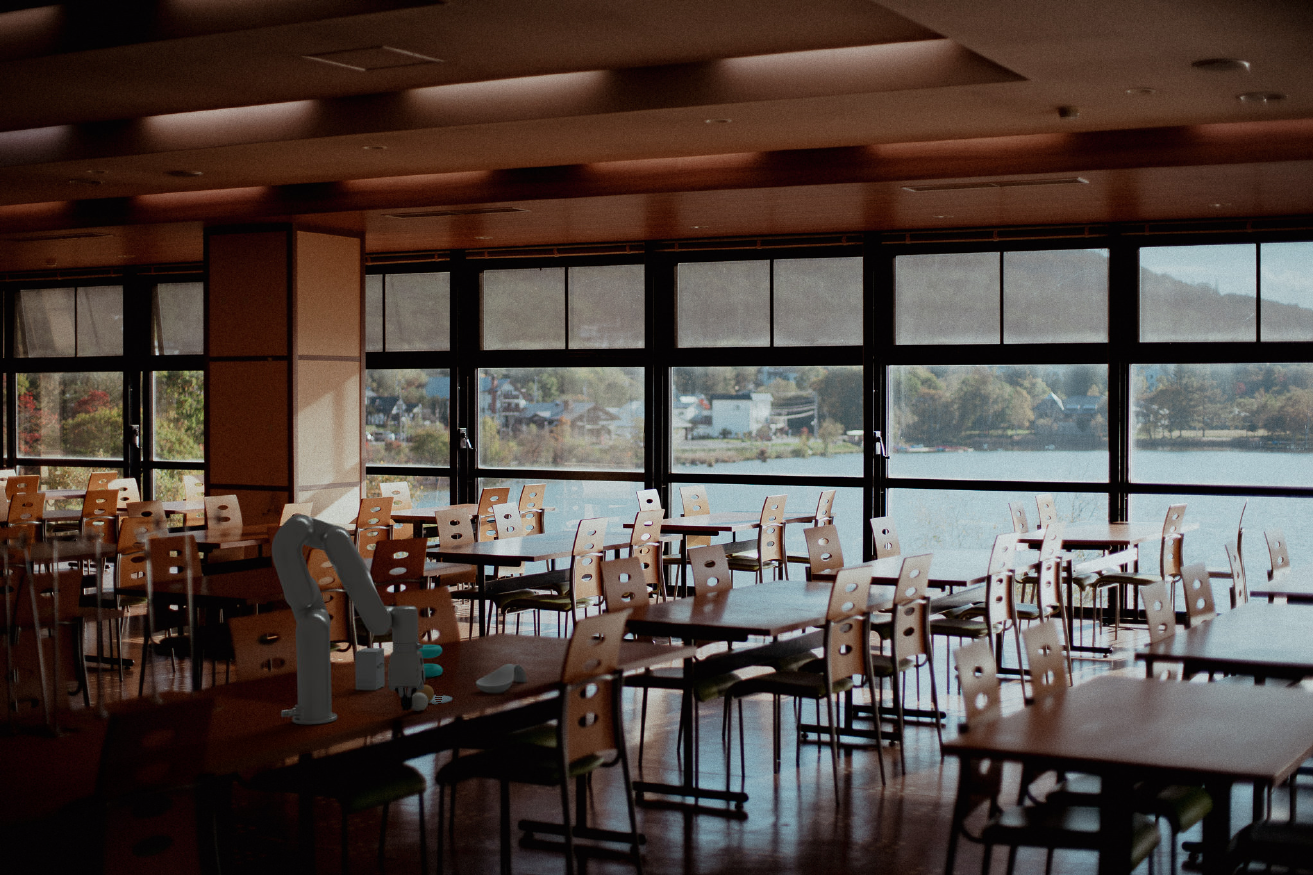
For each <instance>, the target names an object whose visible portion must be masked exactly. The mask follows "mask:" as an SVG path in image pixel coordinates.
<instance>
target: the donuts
mask: <svg viewBox="0 0 1313 875" xmlns="http://www.w3.org/2000/svg"><path fill="white" fill-rule="evenodd" d="M419 651H420V652H422V657H423V659H430V658H431V659H432V658H436V657H438V656H440V655H442V653H443V648H442V647H441V645H439V644H423V649H419ZM424 671H425V678H435V676H436V677H440V675H442V674H443V671H444V669H443V667H442V666H440V665H439V664H436V663H424Z"/></svg>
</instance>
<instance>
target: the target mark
mask: <svg viewBox="0 0 1313 875" xmlns="http://www.w3.org/2000/svg"><path fill="white" fill-rule="evenodd" d="M436 695H437V694H434V697H433V699H432V700H431V701H430V702H428V703H432V704H434V705H439V704H438V703H442V704H445V703H449V702H452V700H453V697H452V696H449V695H443V696H436ZM435 697H442V698H435ZM435 699H442V700H435ZM436 701H441V702H436Z"/></svg>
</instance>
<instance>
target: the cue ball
mask: <svg viewBox="0 0 1313 875" xmlns="http://www.w3.org/2000/svg"><path fill="white" fill-rule="evenodd" d="M428 706H429V705H428V698H427V696H426V695H425V694H423V693H420V692H418V693H416V692H415V693H414V695H412V707H411V710H413V711H415V712H421V711H420V710H422V711H424V710H425V709H426V708H427V707H428Z"/></svg>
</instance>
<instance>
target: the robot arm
mask: <svg viewBox="0 0 1313 875" xmlns="http://www.w3.org/2000/svg"><path fill="white" fill-rule="evenodd" d="M351 536H352V535H351V534H350V532H349V530H347V528H345V527H343V526H340V525H336V524H333V523H330V522H327V521H324V520H321V519H318V518H315V517H312V516H308V515H305V514H301V513H299V514H295V515H292V516H290V517H289V518H288V519H287V520H285V522H284V523H283V524H282V525H281V526H280V527H279V529H278V530H277V532H276V533H275V535H274V537H273V540H272V544H271V555H272V560H273V564H274V566H275V571H276V573H277V576H278V579H279V582H280V585H281V587H282V588H281V589H282V590H283V594H284V598H285V601H286V603H287V604H288V605H289V606H290V608H291V611H292V614H293V617H294V619H295V623H296V627H295V646H296V671H297V672H296V677H297V678H296V679H297V680H296V681H297V682H296V683H297V704H295V705H294V707H293V708H290V709H283V710H281V712H280V716H281V717H282V718H285V717H286V718H287V717H288V718H292V722H293V723H294V724H297V725H321V724H328V723H330V722H334V721H337V719H338V714H337V713H335V712H332V710H333V709H332V708H333V707H332V670H331V668H332V667H331V663H332V662H331V628H332V627H331V624H332V622H331V618H330V614H329V613H328V609H327V607H326V604H325V600H324V597H323V595H322V593H321V590H320V587H319V586H320V585H319V584H318V582H317V581H316V580H315V579H314V578H313V577H312V576H311V573H310V570H309V568H308V565H307V561H306V559H305V557H304V554H303V547H304V545H305V546H308V547H310V548H313V549H316V550H321V551H323V552H324V553H325V555H326V557H327V559H328V560H329V562H330V565H331V566H332V568H333V570H334V571H335V573H336V575H337V577H338V579H339V581H340V583H341V585H342V586H343V588H344V590H345V592H346V593H347V595H348V597H349V598H350V601H351V602H352V605H353V606H354V607H355V609H356V611H357V613H358V615H359V616H360V618H361V620H362V621H363V622H362V623H364V626H365V627H366V629H367V630H368V631H369V632H370V633H371V634H373V635H374V636H375V635H376V636H380V635H384V634H386V633H387V632H388V631H390V630H391V631H392V633H391V634H392V652H390V655H389V662H388V676H387V679H388V680H387V681H388V690H389V691H394V692H396V693H397V694H398V697H399V698H400V707H401V708H402V711H404V712H405V711H406V712H407V711H410V710H412V708H411V707H412V695H414V694H415V693H416V691H420V690H423V689H424V685H425V684H424V683H425V682H426V677H425V671H424V664H425V663H424V658H423V657H422V652H420V651H419V649H423V645H424V644H422V643H420V641H419V614H418V613H419V612H418V608H417V607H416V606H414V605H398V606H391V605H390V606H388V605H385V604H384V602H383V600H382V599H381V596H380V595H379V593H378V591H377V588H376V586H375V584H374V581H373V578H372V575H371V572H370V570H369V568H368V567H367V564H366V563H365V561H364V560H363V558H362V556H361V554H360V552H359V550H358V549H357V547H356V545H355V543H354V541H353V540H352V537H351ZM406 689H407V690H406Z"/></svg>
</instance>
